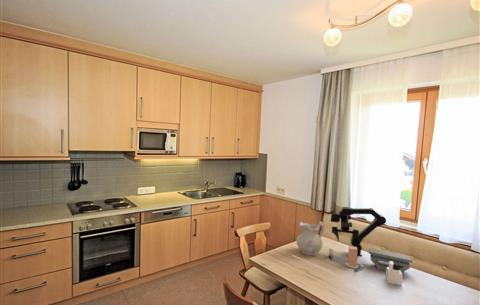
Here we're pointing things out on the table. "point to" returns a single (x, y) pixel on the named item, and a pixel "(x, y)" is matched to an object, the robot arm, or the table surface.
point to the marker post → (352, 256)
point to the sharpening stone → (389, 259)
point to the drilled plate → (344, 262)
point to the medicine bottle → (394, 273)
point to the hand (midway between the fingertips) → (345, 242)
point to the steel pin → (330, 252)
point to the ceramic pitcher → (310, 238)
